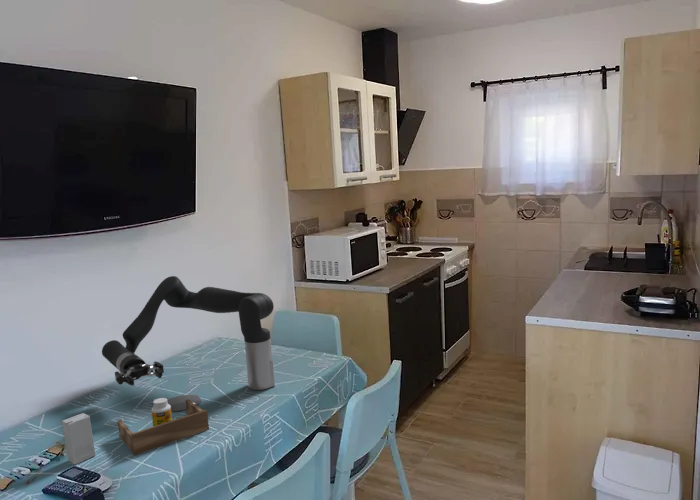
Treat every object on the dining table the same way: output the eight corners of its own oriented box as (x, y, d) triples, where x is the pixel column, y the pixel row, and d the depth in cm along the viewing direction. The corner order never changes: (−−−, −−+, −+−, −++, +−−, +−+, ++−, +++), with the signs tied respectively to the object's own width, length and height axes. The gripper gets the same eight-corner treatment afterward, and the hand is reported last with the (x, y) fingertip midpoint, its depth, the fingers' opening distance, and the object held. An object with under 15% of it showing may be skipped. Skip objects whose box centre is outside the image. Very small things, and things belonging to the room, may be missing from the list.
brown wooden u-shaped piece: (119, 436, 167) (116, 417, 166) (190, 413, 180) (188, 396, 179) (134, 455, 155) (132, 435, 154) (209, 429, 168) (207, 410, 167)
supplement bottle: (156, 438, 164) (153, 406, 162) (152, 432, 168) (148, 400, 167) (175, 433, 167) (172, 400, 165) (170, 426, 171) (167, 395, 170)
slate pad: (201, 394, 195) (201, 392, 195) (199, 408, 183) (199, 406, 183) (165, 399, 192) (165, 397, 192) (161, 414, 181) (161, 411, 181)
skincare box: (88, 451, 158) (83, 411, 156) (96, 456, 155) (90, 415, 154) (66, 461, 154) (60, 420, 152) (73, 466, 151) (68, 424, 149)
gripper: (153, 370, 192) (170, 383, 179) (109, 382, 183) (124, 396, 170) (150, 349, 191) (167, 361, 178) (107, 360, 182) (121, 373, 169)
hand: (146, 378), depth 174 cm, fingers open, 8 cm apart
